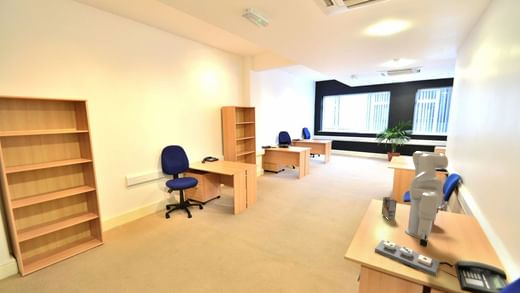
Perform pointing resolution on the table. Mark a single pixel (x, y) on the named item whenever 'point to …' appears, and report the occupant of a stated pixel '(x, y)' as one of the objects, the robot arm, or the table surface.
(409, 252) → the white small block
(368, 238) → the table surface
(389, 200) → the coffee box
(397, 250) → the keypad board
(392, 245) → the tile
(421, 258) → the tile
